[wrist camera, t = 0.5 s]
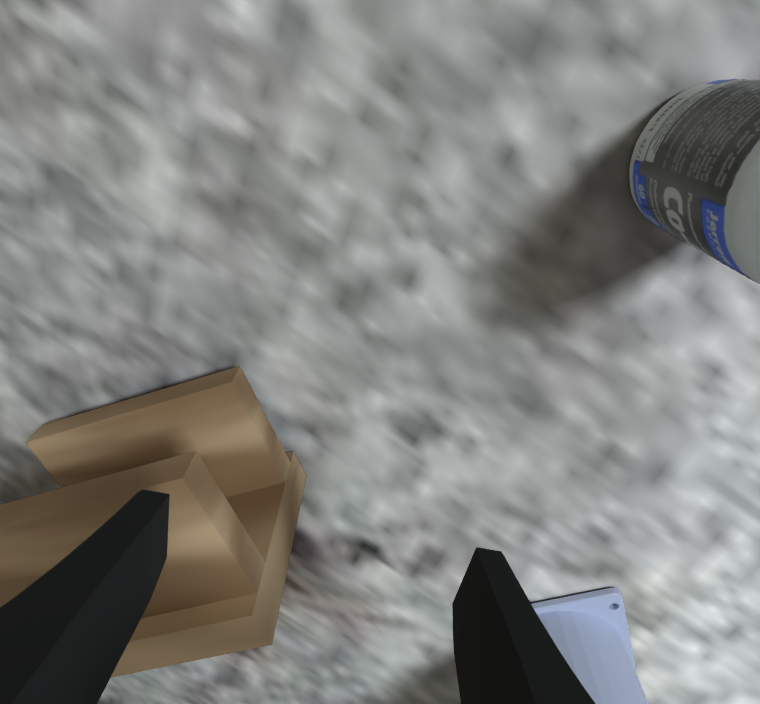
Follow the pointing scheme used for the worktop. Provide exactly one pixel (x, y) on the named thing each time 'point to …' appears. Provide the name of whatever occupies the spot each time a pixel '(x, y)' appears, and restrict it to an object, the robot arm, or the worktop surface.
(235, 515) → the tan notched block
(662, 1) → the worktop surface
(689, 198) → the pill bottle
